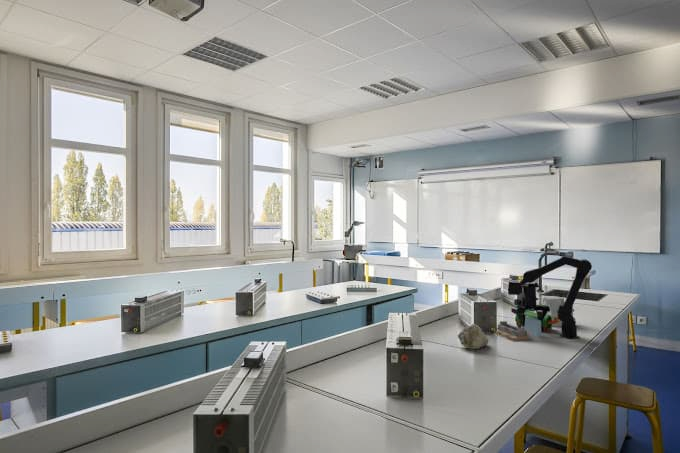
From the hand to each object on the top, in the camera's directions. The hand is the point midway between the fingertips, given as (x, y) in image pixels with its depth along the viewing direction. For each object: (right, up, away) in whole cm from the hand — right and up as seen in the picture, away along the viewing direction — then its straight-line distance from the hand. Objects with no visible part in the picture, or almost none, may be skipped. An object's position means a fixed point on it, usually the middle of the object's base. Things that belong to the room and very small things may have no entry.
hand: (531, 326), depth 207 cm
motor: (0, 0, +16) cm, 15 cm away
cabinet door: (0, -4, 0) cm, 4 cm away
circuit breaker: (+24, -4, +17) cm, 30 cm away
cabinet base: (-12, -4, -1) cm, 13 cm away
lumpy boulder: (-36, -5, -20) cm, 42 cm away
